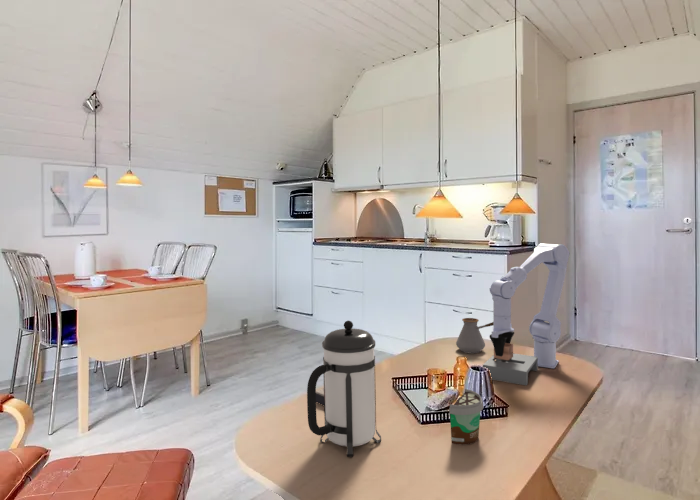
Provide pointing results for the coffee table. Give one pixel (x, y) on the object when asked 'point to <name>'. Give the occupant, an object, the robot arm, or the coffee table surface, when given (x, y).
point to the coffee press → (346, 389)
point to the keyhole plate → (512, 368)
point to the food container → (465, 418)
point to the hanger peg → (506, 353)
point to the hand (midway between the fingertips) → (501, 353)
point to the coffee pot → (471, 336)
